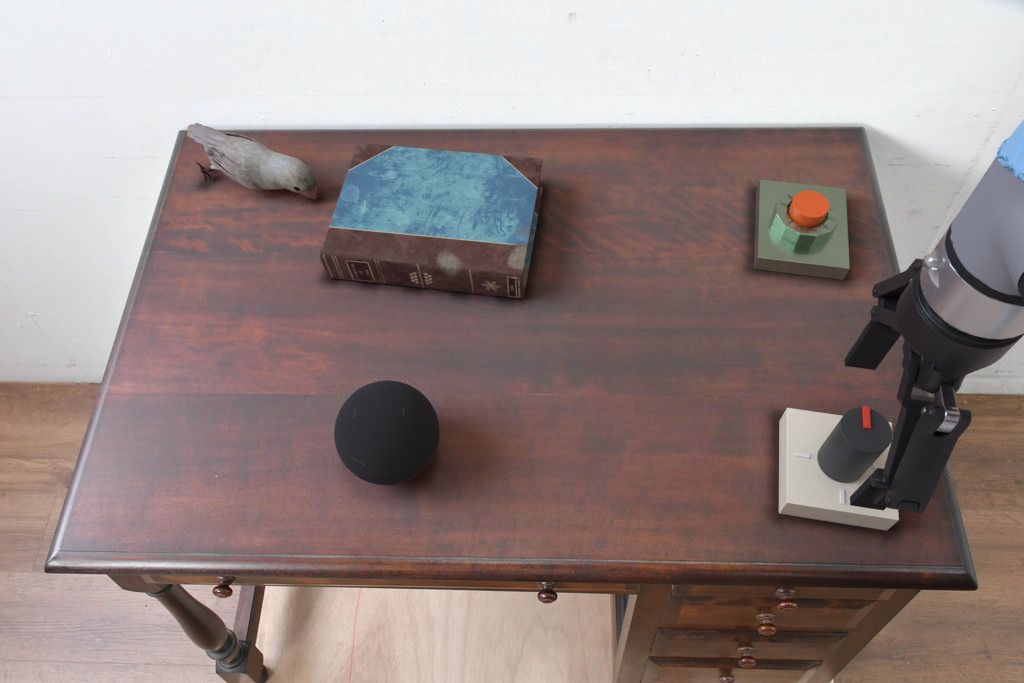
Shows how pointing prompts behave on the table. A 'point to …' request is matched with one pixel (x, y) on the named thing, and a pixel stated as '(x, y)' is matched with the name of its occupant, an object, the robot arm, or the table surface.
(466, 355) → the table surface
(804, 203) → the button
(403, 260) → the book
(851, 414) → the knob
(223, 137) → the decorative bird
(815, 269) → the button box
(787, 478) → the knob panel
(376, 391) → the speaker
